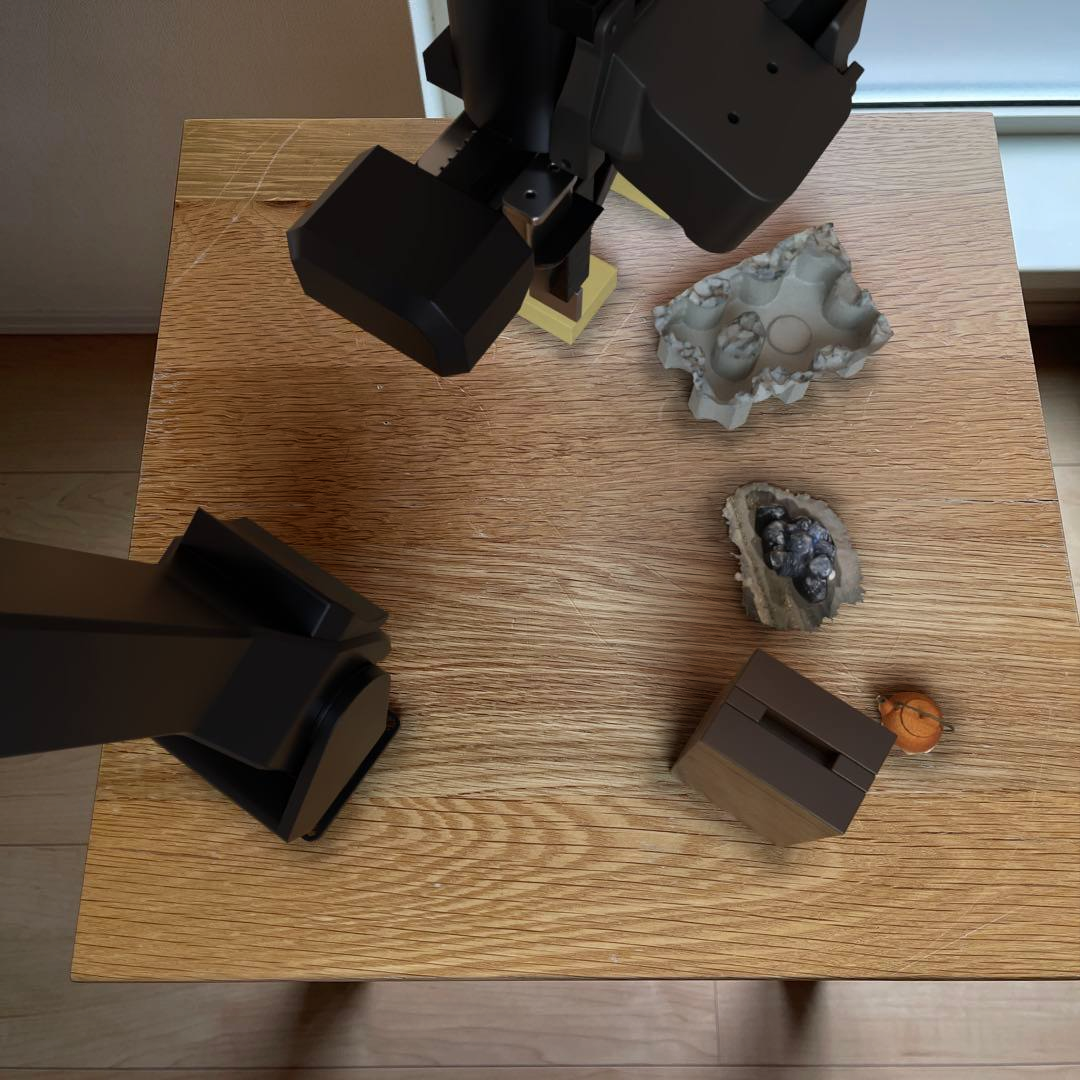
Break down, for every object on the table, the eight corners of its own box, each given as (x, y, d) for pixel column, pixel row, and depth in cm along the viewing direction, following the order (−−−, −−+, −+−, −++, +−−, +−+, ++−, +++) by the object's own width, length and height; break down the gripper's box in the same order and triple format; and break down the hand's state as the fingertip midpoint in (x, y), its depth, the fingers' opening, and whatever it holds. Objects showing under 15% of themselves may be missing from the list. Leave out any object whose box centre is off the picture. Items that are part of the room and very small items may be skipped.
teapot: (897, 765, 42) (919, 757, 39) (864, 703, 43) (883, 691, 40) (954, 740, 42) (979, 731, 40) (920, 679, 43) (942, 666, 41)
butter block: (571, 345, 50) (571, 328, 48) (463, 283, 51) (460, 265, 49) (616, 286, 51) (618, 268, 49) (509, 227, 52) (508, 208, 51)
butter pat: (668, 220, 52) (671, 200, 51) (563, 164, 54) (563, 143, 52) (682, 202, 53) (686, 181, 51) (577, 147, 54) (578, 125, 53)
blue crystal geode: (773, 660, 43) (782, 650, 42) (677, 522, 46) (682, 507, 44) (890, 588, 45) (904, 575, 43) (790, 456, 47) (799, 439, 45)
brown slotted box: (779, 848, 41) (844, 835, 31) (668, 773, 42) (699, 740, 33) (824, 769, 42) (899, 735, 33) (714, 698, 43) (757, 646, 34)
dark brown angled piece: (568, 334, 39) (571, 200, 31) (520, 306, 39) (512, 168, 32) (590, 306, 39) (598, 168, 32) (542, 279, 40) (539, 136, 32)
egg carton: (817, 263, 51) (839, 212, 47) (887, 375, 49) (916, 331, 45) (638, 328, 50) (645, 281, 46) (699, 447, 47) (713, 407, 43)
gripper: (625, 298, 18) (594, 564, 33) (1035, -238, 23) (850, 198, 38) (188, 55, 20) (343, 404, 35) (650, -383, 26) (616, 81, 40)
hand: (553, 267), depth 37 cm, fingers closed on dark brown angled piece, 2 cm apart
